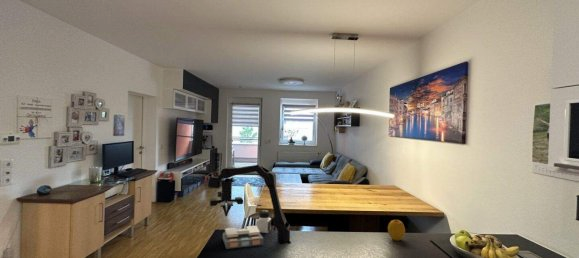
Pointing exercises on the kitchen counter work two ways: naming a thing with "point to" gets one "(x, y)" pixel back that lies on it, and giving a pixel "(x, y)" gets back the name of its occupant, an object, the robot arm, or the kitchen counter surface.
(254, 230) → the rocker
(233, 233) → the rocker
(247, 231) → the rocker
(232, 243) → the switch box
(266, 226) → the medicine bottle
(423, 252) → the kitchen counter surface
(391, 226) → the yellow oval fruit
